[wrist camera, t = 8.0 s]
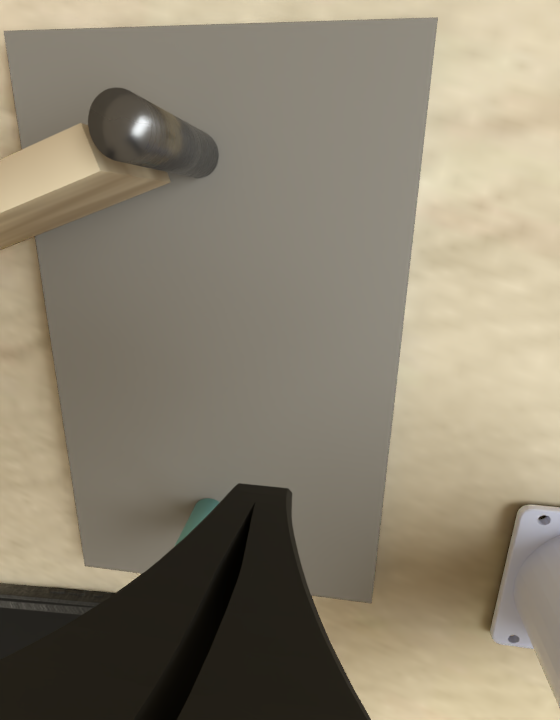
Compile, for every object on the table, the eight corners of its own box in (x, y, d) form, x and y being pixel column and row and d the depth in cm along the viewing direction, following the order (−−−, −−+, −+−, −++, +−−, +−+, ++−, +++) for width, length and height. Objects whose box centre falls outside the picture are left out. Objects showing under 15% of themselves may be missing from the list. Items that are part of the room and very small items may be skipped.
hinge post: (225, 134, 17) (148, 87, 10) (226, 180, 17) (153, 162, 11) (184, 134, 17) (84, 88, 11) (186, 179, 18) (91, 161, 11)
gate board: (432, 29, 15) (437, 17, 14) (370, 587, 23) (371, 603, 22) (22, 40, 17) (3, 30, 16) (94, 552, 25) (84, 566, 24)
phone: (150, 705, 27) (-67, 679, 29) (158, 686, 28) (-53, 663, 30) (132, 604, 24) (-105, 584, 27) (140, 587, 26) (-88, 569, 28)
